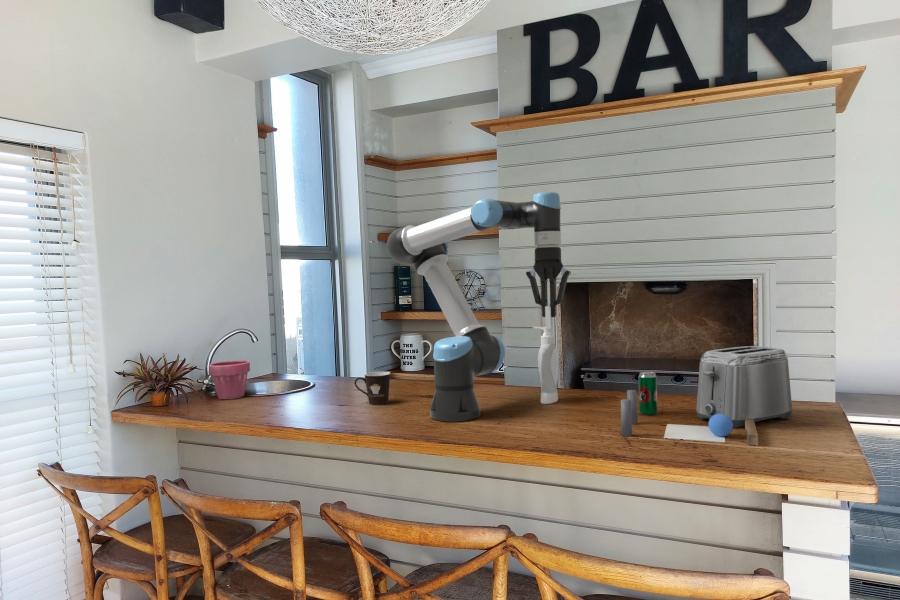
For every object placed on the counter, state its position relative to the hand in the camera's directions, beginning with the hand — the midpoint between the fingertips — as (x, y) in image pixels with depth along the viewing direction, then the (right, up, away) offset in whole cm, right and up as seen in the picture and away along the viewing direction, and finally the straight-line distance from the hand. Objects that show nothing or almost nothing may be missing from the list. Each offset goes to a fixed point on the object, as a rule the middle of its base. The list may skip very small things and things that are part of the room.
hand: (549, 328), depth 178 cm
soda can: (+29, -25, +2) cm, 39 cm away
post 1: (+17, -26, -21) cm, 37 cm away
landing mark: (+34, -26, -21) cm, 47 cm away
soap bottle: (+3, -25, +24) cm, 35 cm away
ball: (+39, -23, -25) cm, 51 cm away
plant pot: (-110, -28, +50) cm, 124 cm away
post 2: (+21, -26, -9) cm, 35 cm away
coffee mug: (-54, -27, +31) cm, 68 cm away
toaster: (+54, -25, -7) cm, 60 cm away
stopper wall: (+46, -26, -26) cm, 58 cm away
